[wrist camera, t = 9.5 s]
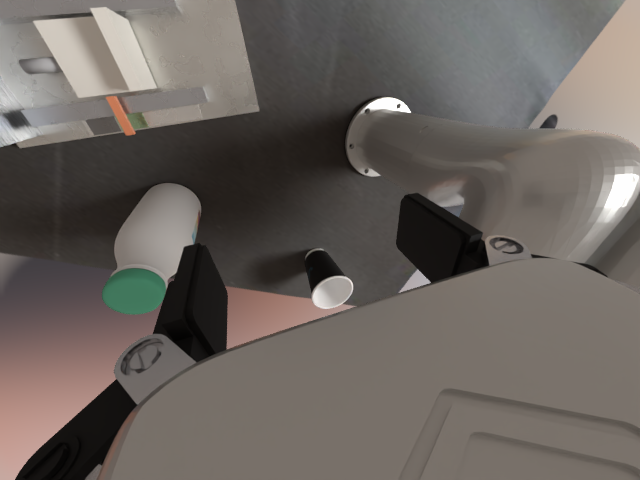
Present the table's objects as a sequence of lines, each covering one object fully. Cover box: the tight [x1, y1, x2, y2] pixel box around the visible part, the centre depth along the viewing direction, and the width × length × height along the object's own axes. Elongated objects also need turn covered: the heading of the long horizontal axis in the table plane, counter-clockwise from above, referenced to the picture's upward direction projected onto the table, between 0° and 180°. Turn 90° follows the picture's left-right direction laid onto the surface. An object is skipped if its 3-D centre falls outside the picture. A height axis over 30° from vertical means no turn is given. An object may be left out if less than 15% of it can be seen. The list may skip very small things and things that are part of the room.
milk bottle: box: [102, 183, 201, 314], centre depth 29 cm, size 8×8×20 cm
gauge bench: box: [0, 0, 259, 148], centre depth 23 cm, size 28×14×10 cm, turn 96°
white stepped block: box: [19, 7, 157, 136], centre depth 24 cm, size 10×10×6 cm
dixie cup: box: [305, 248, 353, 309], centre depth 47 cm, size 8×8×11 cm
